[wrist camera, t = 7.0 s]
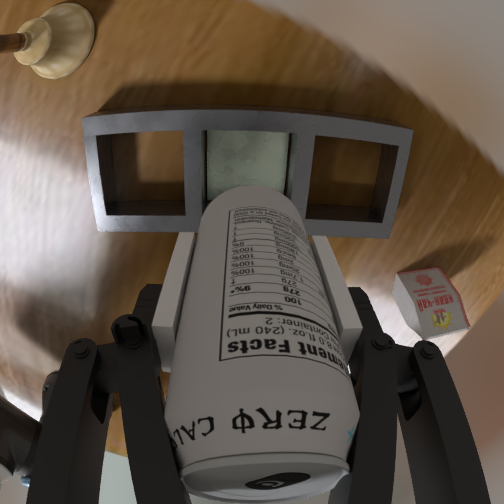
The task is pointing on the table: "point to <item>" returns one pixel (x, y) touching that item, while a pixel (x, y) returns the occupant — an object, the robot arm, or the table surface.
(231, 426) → the energy drink can
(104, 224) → the rack
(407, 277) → the white printed box
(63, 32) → the hand bell
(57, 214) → the table surface
